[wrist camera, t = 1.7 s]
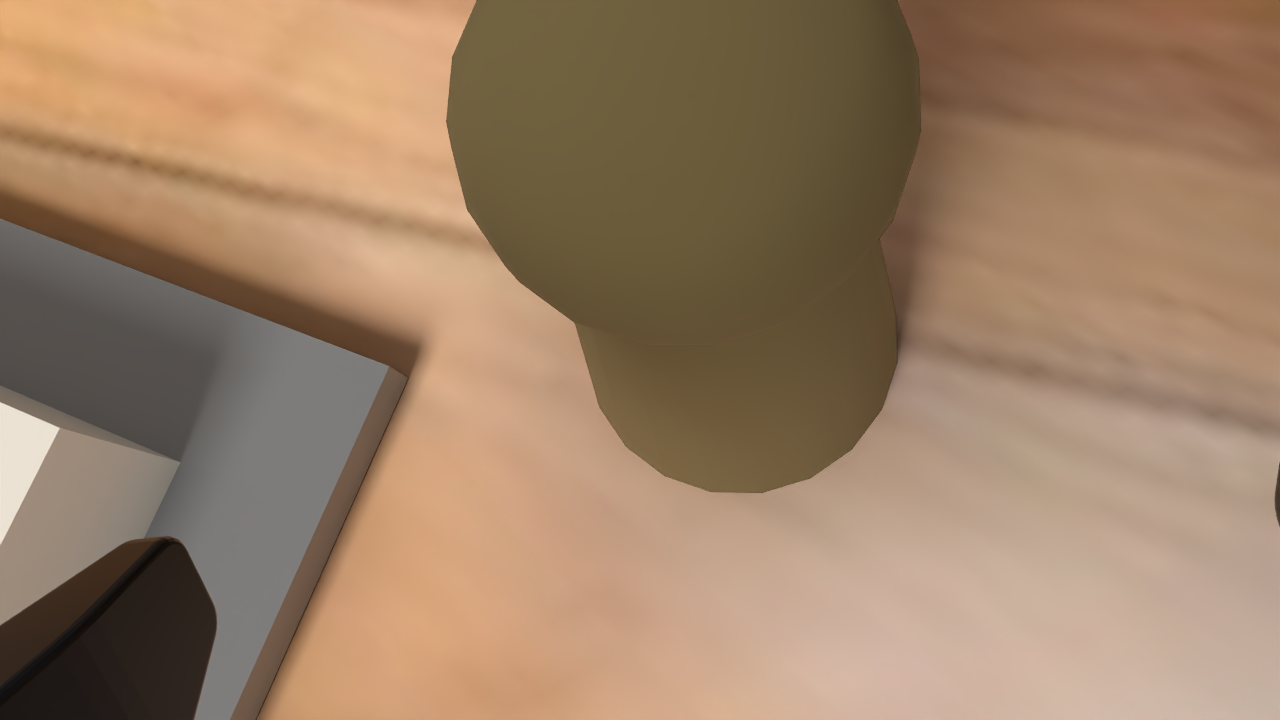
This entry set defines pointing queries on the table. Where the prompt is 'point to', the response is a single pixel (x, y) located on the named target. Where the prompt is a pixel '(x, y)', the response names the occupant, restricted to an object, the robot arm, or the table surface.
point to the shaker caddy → (175, 446)
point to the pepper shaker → (701, 211)
